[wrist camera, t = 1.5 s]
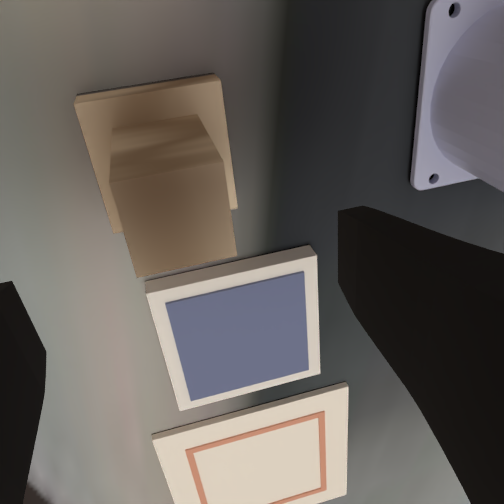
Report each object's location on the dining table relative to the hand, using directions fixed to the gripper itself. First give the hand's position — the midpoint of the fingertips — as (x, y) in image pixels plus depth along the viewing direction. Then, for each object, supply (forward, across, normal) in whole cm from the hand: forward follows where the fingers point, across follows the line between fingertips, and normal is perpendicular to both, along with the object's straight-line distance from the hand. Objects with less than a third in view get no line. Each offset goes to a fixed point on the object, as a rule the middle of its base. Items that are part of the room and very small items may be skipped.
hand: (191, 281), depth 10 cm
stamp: (+10, 0, 0) cm, 10 cm away
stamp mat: (+9, -2, +22) cm, 24 cm away
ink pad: (+9, -2, +10) cm, 14 cm away
